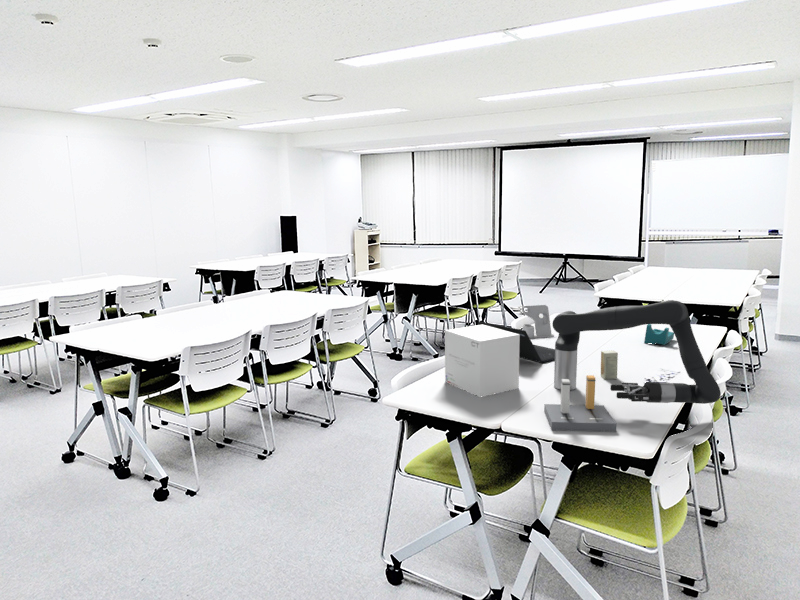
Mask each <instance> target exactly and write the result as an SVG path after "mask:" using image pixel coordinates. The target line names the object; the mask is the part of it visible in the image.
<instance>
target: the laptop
mask: <svg viewBox="0 0 800 600" xmlns="http://www.w3.org/2000/svg"><path fill="white" fill-rule="evenodd" d="M482 324H483V325H487V326H490V327H494V328H498V329H501V330H505V331H509V332H512V333H516V334H520V343H519V358H521V359H525V360H529V361H533V362H538V363H546V362H550V361H553V360H554V361H555V348H552V347H551V348H550V347H547V346H542V345H538V344H537V345H536V344H533V341H532V340H531V338H529V336H528V335H527V333H526V331H525V330H523V329H520V328H519V329H518V328H514V327H510V326H509V327H508V326H505V325H500V324H495V323H494V324H493V323H489V322H485V321H481V320H478V321H477V325H482Z"/></svg>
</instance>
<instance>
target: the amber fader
mask: <svg viewBox="0 0 800 600" xmlns="http://www.w3.org/2000/svg"><path fill="white" fill-rule="evenodd" d="M585 379H586V380H585V381H586V385H585V388H586V389H585V404H584V405H585V406H586V408H587V409H594V405H595V398H596V397H595V395H596V382H597V381H596V376H595V375H591V374H590V375H589V374H588V375H586V378H585Z"/></svg>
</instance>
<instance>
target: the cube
mask: <svg viewBox="0 0 800 600" xmlns="http://www.w3.org/2000/svg"><path fill="white" fill-rule="evenodd" d="M519 343H520V334H516V333H512V332H509V331H505V330H501V329H498V328H494V327H490V326H487V325H483V324H482V325H478V324H477V325H470V326H464V327H463V326H462V327H457V328H451V329H446V330H444V383H446V382H447V383H446V384H449V385H451V384H452V385H451V386H453V385H454V386H453V387H455V386H456V387H455V388H457V387H458V388H457V389H460V388H461V389H460V390H462V389H463V390H462V391H464V390H466V391H467V393H469V392H470V393H469V394H471V393H472V394H471V395H473V394H474V395H473V396H475V395H477V396H479V397H478V398H482V397H481V396H484V397H486V396H485V395H489V396H491V395H490V394H493V395H495V394H494V393H497V394H500V393H499V392H501V393H504V391H506V392H508V391H509V390H510V391H513V389H514V390H518V389H519V387H520V384H519V383H520V357H519ZM466 391H465V392H466ZM477 396H476V397H477Z"/></svg>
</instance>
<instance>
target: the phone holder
mask: <svg viewBox="0 0 800 600" xmlns="http://www.w3.org/2000/svg"><path fill="white" fill-rule="evenodd" d="M525 308H526V309H527V311H525V310H524V309H525ZM521 311H522V312H521V313H522V314H523V315H525V316H527V317H528V318H529V319H532V320H533V322H534V325H531V324H528V323H525V324H523V326H522V330H525V331H526V333H527V335H528V336H529V338H530V339H538V338H539V339H540V338H551V337H553V338H554V337H555V334H554V333H552V328H551V327H552V326H551V320H550V311H549V307H548V305H547V304H541V305H539V304H537V305H524V306H522V309H521ZM540 314H541V315H542V317H540Z"/></svg>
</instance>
